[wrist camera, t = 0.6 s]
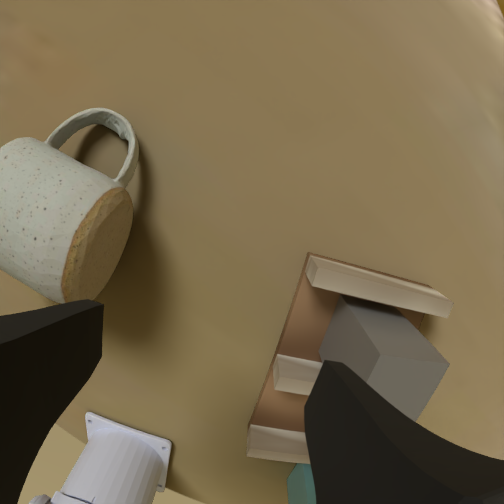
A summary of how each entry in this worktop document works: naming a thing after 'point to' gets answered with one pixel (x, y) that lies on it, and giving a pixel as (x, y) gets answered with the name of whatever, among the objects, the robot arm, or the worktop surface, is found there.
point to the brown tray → (310, 339)
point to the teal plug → (301, 485)
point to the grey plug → (384, 353)
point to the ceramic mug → (64, 212)
